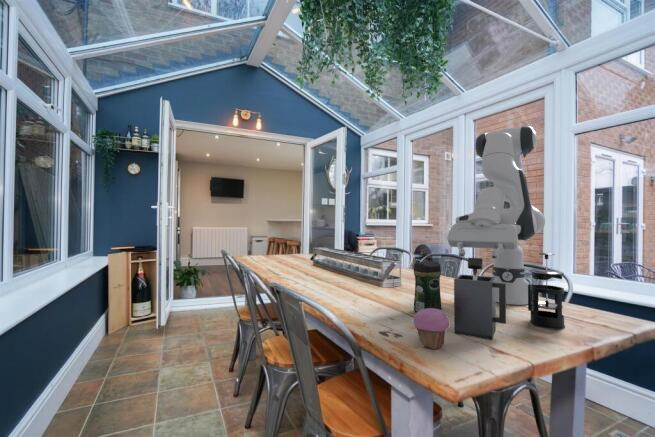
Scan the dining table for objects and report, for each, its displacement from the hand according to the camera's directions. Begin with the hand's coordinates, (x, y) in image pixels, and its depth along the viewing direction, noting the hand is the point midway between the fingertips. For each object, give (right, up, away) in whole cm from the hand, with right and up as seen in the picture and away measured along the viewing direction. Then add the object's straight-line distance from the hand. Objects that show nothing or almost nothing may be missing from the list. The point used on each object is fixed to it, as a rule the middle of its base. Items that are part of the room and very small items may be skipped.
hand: (477, 256), depth 97 cm
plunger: (-1, -17, -2) cm, 17 cm away
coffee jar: (-9, -23, +20) cm, 32 cm away
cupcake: (-18, -22, -14) cm, 32 cm away
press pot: (0, -22, -3) cm, 22 cm away
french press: (+25, -23, +6) cm, 34 cm away
